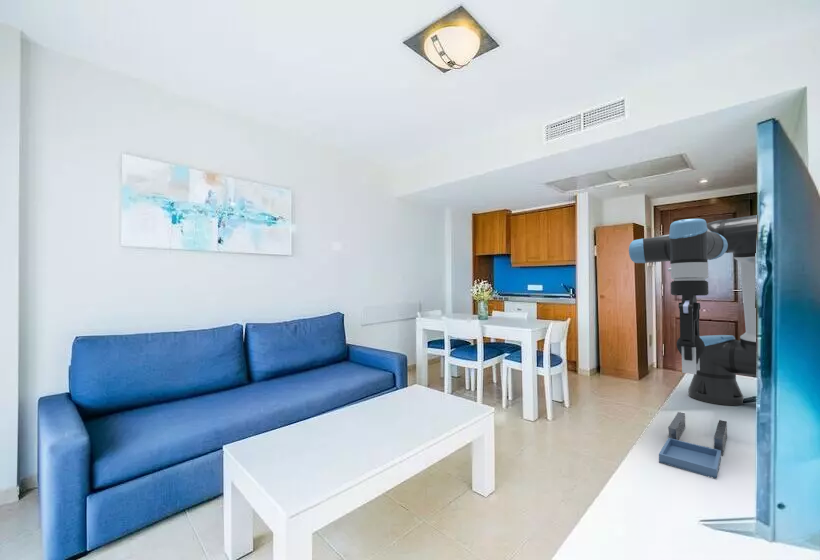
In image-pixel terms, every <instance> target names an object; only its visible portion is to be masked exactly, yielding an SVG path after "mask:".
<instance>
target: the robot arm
mask: <svg viewBox="0 0 820 560" xmlns="http://www.w3.org/2000/svg"><path fill="white" fill-rule="evenodd" d="M757 215H758V214H755V215H747V216H741V217H735V218H734V217H733V218H727V219H719V220H715V221H714V220H713V221H711V222H708V223H707V221H706V220H705V219H704V218H688V219H679V220H675V221H672V222H671V224H670V226H669V233H668V234H663V235H659V236H654V237H647V238H643V237H642V238H639V239H634V240H632V241H631V242H630V243H629V246H628V255H629V259H630V260H631V261H632V262H633V263H635V264H648V263H649V264H650V263H662V262H663V263H664V262H669V263H670V267H668V268H667V272H670V279H671V282H670V294H671V295H672V296H681V302H678V310H679V338H680V343H678V346H681V348H682V355H681V373H683V374H688V375H689V374H691V375H693V377H692V379H691V381H690V384H689V386H688V396H689V397H691V399H695V400H698V401H701V402H703V403H704V402H706V403H709V404H716V405H722V406H723V405H724V406H741V405H744V403H743V400H745V399H744V395H743V393H742V390H741V388H740V386H739V383H738V382H737V374H738V375H743V376H749V377H756V308H755V253H756V234H757ZM728 253H729V254H731V253H733V260H736V261H737V262H739V267H740V277H741V278H740V279H741V288H742V289H741V290H742V301H743V312H744V323H745V324H744V325H745V332H744V333H742V334H741V335H740V336H739V339H740V340H739V339H736V336H735V335H732V334H731V335H730V334H729V335H728V334H716V335H715V334H714V335H713V334H711V335H700V317H701V316H700V315H701V314H700V309H701V302H698V299H697V296H708V295H709V281H708V280H706V279H709V261H711V260H717V259H719V258H721V257H722V256H723V255H724V254H728ZM695 335H696V336H698V337H700V338H701V339H702V340H703V342H704V344H705V349H704V352H703V353H702V355H701V356H700V358H699V360H698V364H697V372H696V347H695Z"/></svg>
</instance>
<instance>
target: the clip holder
mask: <svg viewBox="0 0 820 560" xmlns="http://www.w3.org/2000/svg"><path fill="white" fill-rule="evenodd" d="M685 429H686V413H685V412H681V411H677V413H676V414H675V416H674V418H673V419H672V421H671V422H670V424H669V425H668V429H667V430H668V431H667V432H668V438H672V439H676V440H680V438H681V436H682V435H683V432H684V431H685ZM714 432H715V433H714V436H713V447H714V448H713V449H717V450H721V457H724V454H725V449H726V444H727V441H728V440H727V439H728V422H727V421H726V420H722V419H719V420H718V422H717V426H716V429H715V431H714Z"/></svg>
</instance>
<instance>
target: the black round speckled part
mask: <svg viewBox="0 0 820 560" xmlns="http://www.w3.org/2000/svg"><path fill="white" fill-rule="evenodd" d="M678 343H680V337H679V338H678V339H677V341H676V349H677V351H678V352H679V354H680V356H682V348H681V346H678ZM695 347H696V372H697V364H698V360H699V358H700V356H701V355H702V353H703V352H704V349H705V344H704V342H703V340H702V339H701V338H700V337H698V336H696V335H695Z"/></svg>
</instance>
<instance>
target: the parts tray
mask: <svg viewBox="0 0 820 560" xmlns="http://www.w3.org/2000/svg"><path fill="white" fill-rule="evenodd" d="M721 462H722V456H721V450H717V449H714V448H712V447H708V446H705V445H699V444H695V443H692V442H689V441H688V442H687V441H683V440H680V439H679V440H676V439H672V438H669V437H668V438H667V439H666V441H665V443H664V444H663V446H662V447H661V450H660V451H659V453H658V463H659V464H664V465H667V466H671V467H674V468H677V469H681V470H684V471H688V472H690V473H695V474H698V475H701V476H705V477H708V476H709V478H711V477H713V478H712V479H715V478H717V479H718V476H719V475H718V474H719V471H720V467H721Z"/></svg>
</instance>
